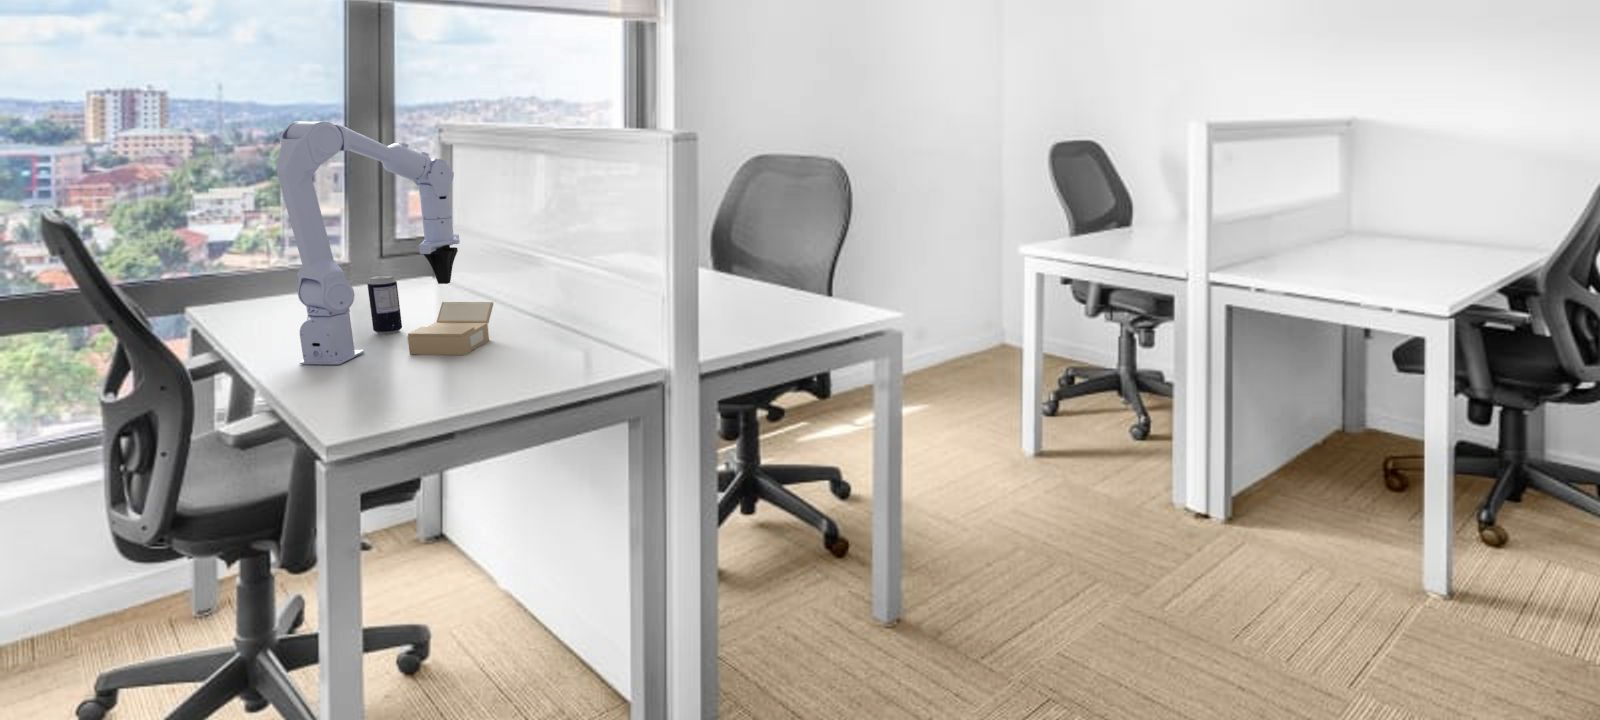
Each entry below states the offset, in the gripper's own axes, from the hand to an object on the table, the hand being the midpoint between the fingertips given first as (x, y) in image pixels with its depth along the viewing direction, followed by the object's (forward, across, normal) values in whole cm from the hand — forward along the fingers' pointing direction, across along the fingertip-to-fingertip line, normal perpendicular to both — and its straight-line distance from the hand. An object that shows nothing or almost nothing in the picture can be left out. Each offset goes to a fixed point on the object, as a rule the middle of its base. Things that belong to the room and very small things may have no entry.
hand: (444, 283), depth 211 cm
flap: (+5, -5, -6) cm, 9 cm away
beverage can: (+11, -1, +13) cm, 17 cm away
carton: (+10, -13, -6) cm, 18 cm away
